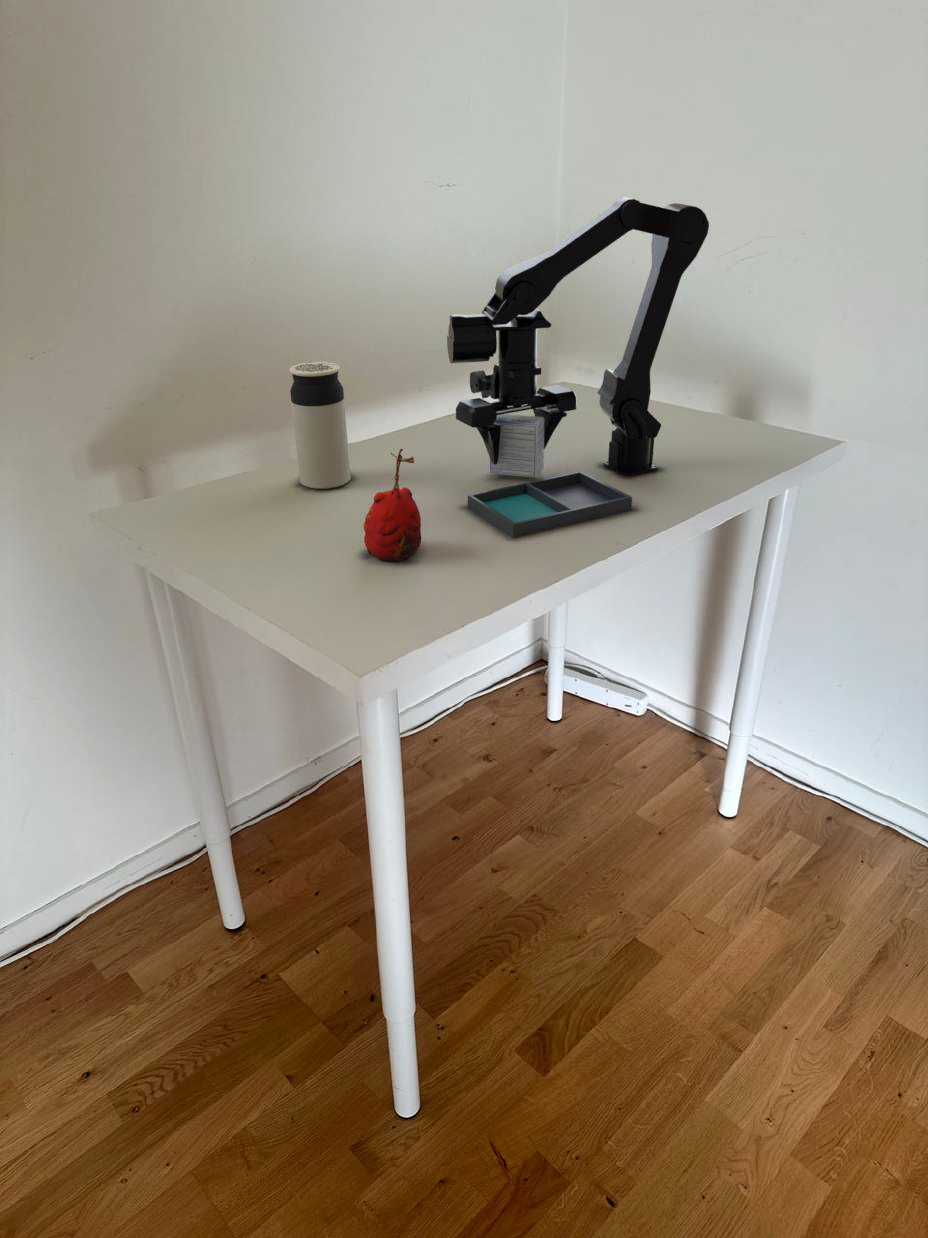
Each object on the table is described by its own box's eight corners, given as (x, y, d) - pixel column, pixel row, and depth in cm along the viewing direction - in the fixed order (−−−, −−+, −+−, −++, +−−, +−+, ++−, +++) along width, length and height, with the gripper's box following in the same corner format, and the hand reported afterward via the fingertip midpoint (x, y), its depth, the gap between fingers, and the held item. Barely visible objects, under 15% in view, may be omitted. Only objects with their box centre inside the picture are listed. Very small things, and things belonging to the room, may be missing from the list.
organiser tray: (580, 483, 142) (580, 470, 141) (631, 509, 131) (632, 496, 130) (467, 507, 133) (467, 494, 132) (513, 538, 123) (513, 524, 122)
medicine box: (544, 469, 145) (545, 416, 141) (536, 479, 141) (537, 424, 137) (497, 465, 147) (497, 412, 143) (488, 474, 143) (488, 420, 139)
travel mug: (329, 493, 140) (317, 375, 131) (289, 484, 143) (276, 369, 135) (360, 478, 145) (352, 364, 137) (322, 469, 149) (311, 358, 140)
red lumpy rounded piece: (407, 538, 124) (401, 431, 117) (433, 556, 119) (429, 445, 111) (357, 551, 120) (348, 442, 113) (382, 570, 115) (374, 457, 108)
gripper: (541, 341, 146) (539, 436, 153) (437, 356, 138) (441, 455, 146) (581, 355, 137) (577, 454, 145) (472, 371, 129) (474, 475, 137)
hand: (516, 459), depth 143 cm, fingers closed on medicine box, 8 cm apart
